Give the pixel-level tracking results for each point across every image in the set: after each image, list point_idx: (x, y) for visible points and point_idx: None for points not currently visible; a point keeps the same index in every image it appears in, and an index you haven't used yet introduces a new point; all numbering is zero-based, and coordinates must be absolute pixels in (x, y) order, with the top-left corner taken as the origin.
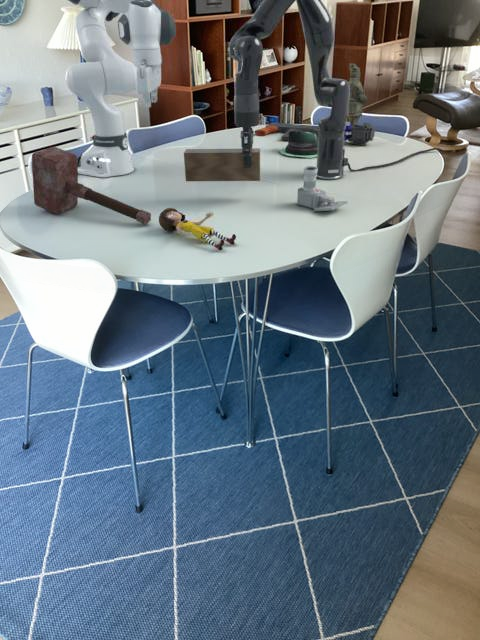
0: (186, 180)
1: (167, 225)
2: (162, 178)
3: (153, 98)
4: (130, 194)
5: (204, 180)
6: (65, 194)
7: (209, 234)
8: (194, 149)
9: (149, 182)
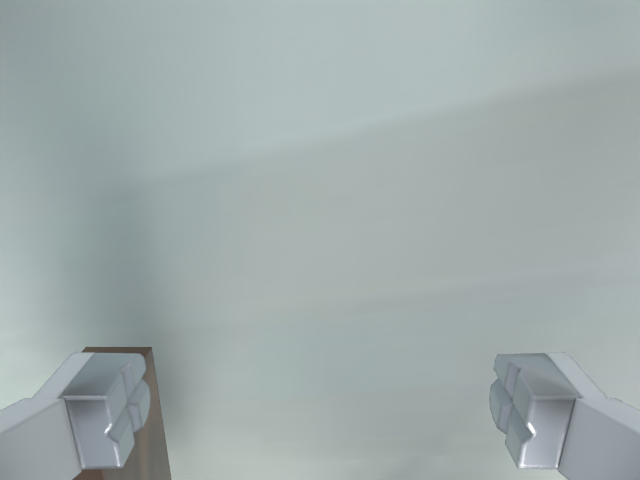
0: (84, 351)
1: None
2: (448, 149)
3: (521, 414)
4: (200, 48)
5: None
6: None
7: None
8: (93, 473)
9: (387, 99)
